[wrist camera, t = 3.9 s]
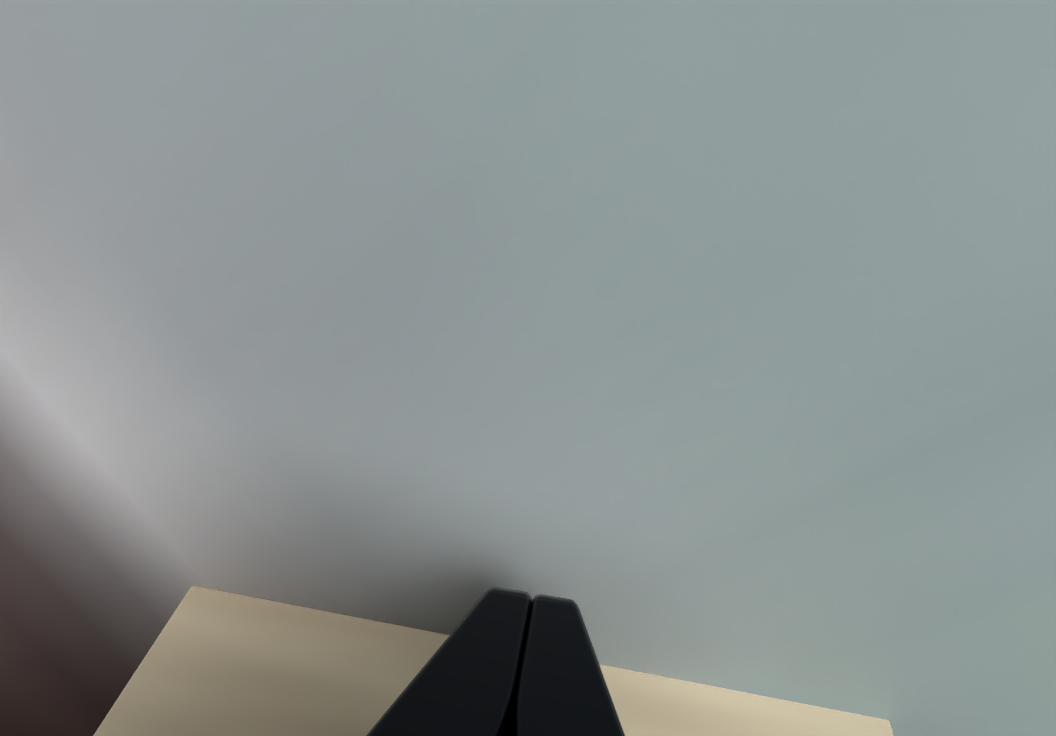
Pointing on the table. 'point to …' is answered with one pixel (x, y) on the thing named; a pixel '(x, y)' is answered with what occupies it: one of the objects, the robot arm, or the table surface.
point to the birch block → (380, 681)
